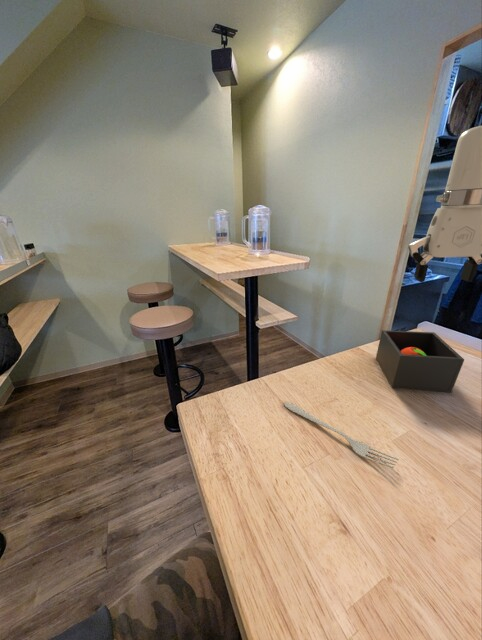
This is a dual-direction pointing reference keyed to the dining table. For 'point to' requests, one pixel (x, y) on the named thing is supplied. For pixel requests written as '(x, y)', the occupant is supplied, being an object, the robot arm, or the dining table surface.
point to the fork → (356, 446)
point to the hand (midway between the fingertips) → (442, 280)
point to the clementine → (412, 351)
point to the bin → (418, 361)
